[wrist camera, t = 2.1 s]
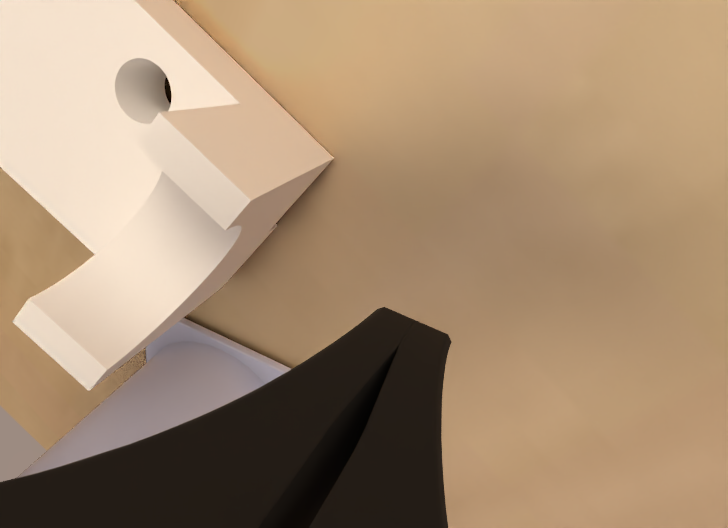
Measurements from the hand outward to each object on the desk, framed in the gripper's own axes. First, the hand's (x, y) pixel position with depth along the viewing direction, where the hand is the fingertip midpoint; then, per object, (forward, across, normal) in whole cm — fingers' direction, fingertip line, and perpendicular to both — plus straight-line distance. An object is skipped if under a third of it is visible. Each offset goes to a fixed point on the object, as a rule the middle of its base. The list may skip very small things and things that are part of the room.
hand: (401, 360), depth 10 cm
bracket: (+8, +12, 0) cm, 14 cm away
